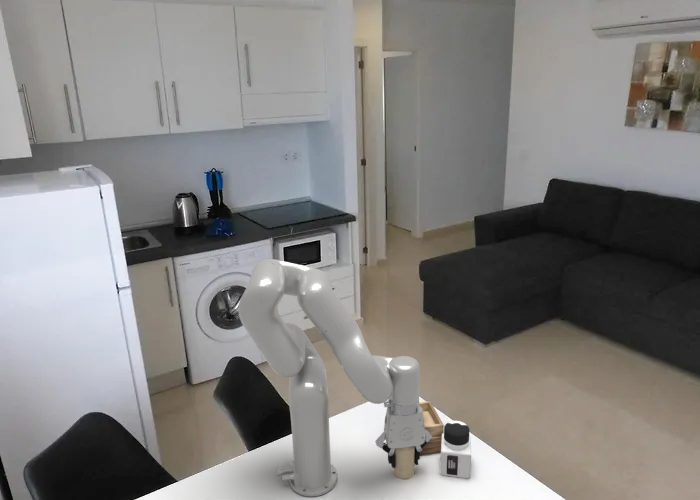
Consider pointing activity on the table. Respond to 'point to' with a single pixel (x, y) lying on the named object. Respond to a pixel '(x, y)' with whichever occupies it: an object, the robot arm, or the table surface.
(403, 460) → the candle
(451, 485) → the table surface
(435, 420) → the top crate
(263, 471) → the table surface
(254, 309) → the robot arm
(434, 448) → the base crate
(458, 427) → the container
